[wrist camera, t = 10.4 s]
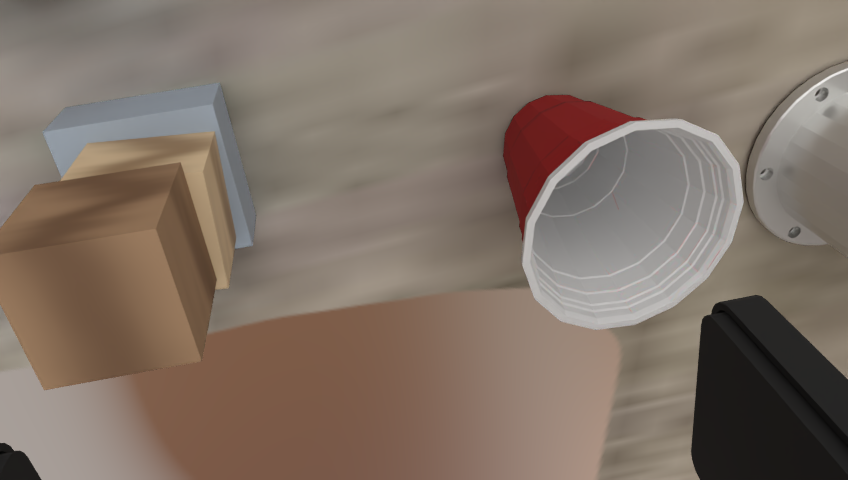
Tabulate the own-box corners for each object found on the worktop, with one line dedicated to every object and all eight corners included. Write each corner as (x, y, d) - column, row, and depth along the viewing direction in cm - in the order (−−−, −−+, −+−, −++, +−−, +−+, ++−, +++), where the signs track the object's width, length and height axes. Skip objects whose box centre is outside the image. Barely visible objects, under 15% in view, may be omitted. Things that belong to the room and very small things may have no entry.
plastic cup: (603, 230, 45) (696, 344, 34) (445, 210, 42) (493, 325, 32) (666, 67, 40) (795, 142, 30) (491, 33, 37) (566, 101, 27)
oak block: (214, 131, 34) (202, 171, 29) (236, 237, 37) (228, 288, 32) (87, 143, 33) (56, 186, 29) (119, 250, 36) (96, 304, 32)
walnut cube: (180, 162, 29) (155, 228, 24) (216, 279, 32) (201, 361, 27) (34, 185, 28) (-24, 258, 23) (85, 302, 32) (44, 390, 26)
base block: (220, 80, 36) (212, 104, 33) (256, 212, 40) (252, 245, 37) (66, 105, 36) (42, 132, 32) (118, 237, 40) (102, 272, 36)
